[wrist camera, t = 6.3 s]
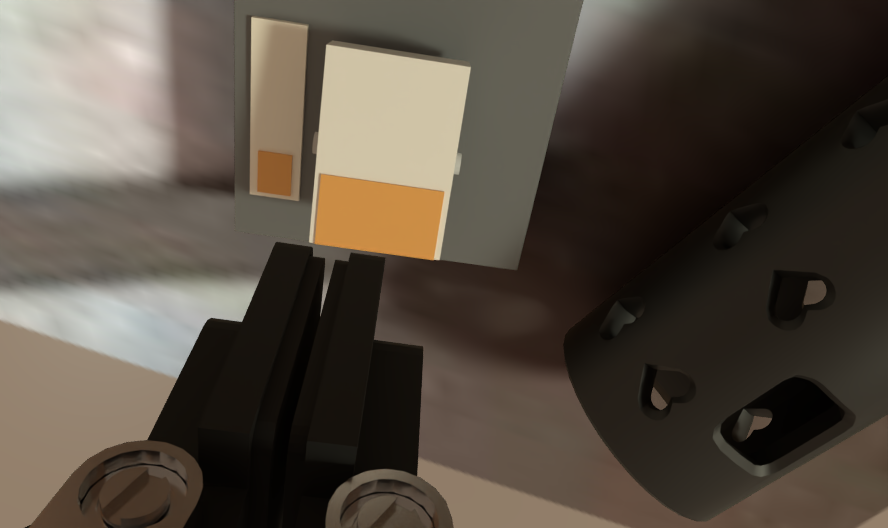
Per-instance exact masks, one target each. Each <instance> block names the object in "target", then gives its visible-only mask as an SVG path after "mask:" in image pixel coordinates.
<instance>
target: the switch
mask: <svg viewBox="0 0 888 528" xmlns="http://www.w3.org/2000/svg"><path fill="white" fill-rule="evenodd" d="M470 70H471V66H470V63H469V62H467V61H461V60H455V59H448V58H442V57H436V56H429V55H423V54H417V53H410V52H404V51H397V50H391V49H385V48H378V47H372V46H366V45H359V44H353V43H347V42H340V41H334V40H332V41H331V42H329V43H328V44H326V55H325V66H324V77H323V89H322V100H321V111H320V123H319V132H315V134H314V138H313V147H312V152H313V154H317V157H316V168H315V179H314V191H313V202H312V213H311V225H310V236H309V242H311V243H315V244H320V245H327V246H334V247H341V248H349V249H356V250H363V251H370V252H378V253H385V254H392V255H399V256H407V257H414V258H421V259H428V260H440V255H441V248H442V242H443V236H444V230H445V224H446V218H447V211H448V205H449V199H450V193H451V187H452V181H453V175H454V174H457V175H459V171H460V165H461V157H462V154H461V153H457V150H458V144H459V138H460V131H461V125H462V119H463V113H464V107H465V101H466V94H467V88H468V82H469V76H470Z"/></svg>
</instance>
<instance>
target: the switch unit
mask: <svg viewBox="0 0 888 528" xmlns="http://www.w3.org/2000/svg"><path fill="white" fill-rule="evenodd" d="M582 4H583V0H234V126H235V231H236V232H243V233H251V234H258V235H265V236H272V237H280V238H287V239H294V240H301V241H309V236H310V225H311V213H312V202H313V191H314V179H315V168H316V157H317V154H313V152H312V147H313V138H314V134H315V132H319V123H320V111H321V100H322V89H323V77H324V66H325V55H326V44H328V43H329V42H331V41H332V40H334V41H340V42H347V43H353V44H359V45H366V46H372V47H378V48H385V49H391V50H397V51H404V52H410V53H417V54H423V55H429V56H436V57H442V58H448V59H455V60H461V61H467V62H469V63H470V66H471V70H470V76H469V82H468V88H467V94H466V101H465V107H464V113H463V119H462V125H461V131H460V138H459V144H458V150H457V153H461V154H462V157H461V165H460V171H459V175H457V174H454V175H453V181H452V187H451V193H450V199H449V205H448V211H447V218H446V224H445V230H444V236H443V242H442V248H441V255H440V260H446V261H453V262H460V263H468V264H475V265H482V266H489V267H497V268H504V269H511V270H517V268H518V264H519V260H520V256H521V252H522V248H523V244H524V240H525V236H526V232H527V228H528V224H529V220H530V216H531V211H532V207H533V203H534V199H535V195H536V191H537V187H538V183H539V179H540V175H541V171H542V167H543V163H544V158H545V154H546V150H547V146H548V142H549V138H550V134H551V130H552V126H553V122H554V118H555V114H556V110H557V106H558V101H559V97H560V93H561V89H562V85H563V81H564V77H565V73H566V69H567V65H568V61H569V57H570V53H571V48H572V44H573V40H574V36H575V32H576V28H577V24H578V20H579V16H580V12H581V8H582Z"/></svg>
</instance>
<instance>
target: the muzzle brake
mask: <svg viewBox="0 0 888 528" xmlns="http://www.w3.org/2000/svg"><path fill="white" fill-rule="evenodd" d="M812 280H822V281H823V282H824V283H825V285H826V289H827V292H826V296H825V297H824V299H823V300H821V301H820V302H818V303H816V304H810V305H804V303H803V301H804V297H805V293H806V290H807V285H808V281H812ZM564 356H565V364H566V367H567V371H568V375H569V378H570V381H571V383H572V386H573V388H574V391H575V393H576V396H577V398H578V400H579V402H580V403H581V405H582V407H583V409H584V411H585V413H586V415H587V417H588V419H589V420H590V422H591V423H592V425H593V427H594V428H595V430H596V431H597V433H598V435H599V436H600V438H601V439H602V440H603V442H604V443H605V444H606V446H607V447H608V448H609V450H610V451H611V453H612V454H613V455H614V457H615V458H616V459H617V460H618V461H619V462H620V464H621V465H622V466H623V467H624V468H625V470H626V471H627V472H628V473H629V474H630V475H631V476H632V477H633V478H634V479H635V480H636V481H637V482H638V483H639V484H640V485H641V486H642V487H643V488H644V489H645V490H646V491H647V492H648V493H649V494H650V495H652V496H653V497H654V498H655V499H656V500H658V501H659V502H660V503H661V504H662V505H664V506H665V507H667V508H669V509H670V510H672V511H673V512H675V513H677V514H678V515H680V516H683V517H686V518H689V519H691V520H694V521H708V520H710V519H711V518H713V517H715V516H717V515H718V514H720V513H722V512H723V511H725V510H727V509H729V508H730V507H732V506H734V505H735V504H737V503H739V502H740V501H742V500H744V499H745V498H747V497H749V496H751V495H752V494H754V493H755V492H757V491H759V490H760V489H762V488H764V487H765V486H767V485H769V484H771V483H772V482H774V481H776V480H777V479H779V478H781V477H782V476H784V475H786V474H787V473H789V472H791V471H793V470H794V469H796V468H798V467H800V466H802V465H803V464H805V463H807V462H808V461H810V460H812V459H813V458H815V457H817V456H818V455H820V454H822V453H824V452H825V451H827V450H829V449H830V448H832V447H834V446H835V445H837V444H839V443H841V442H842V441H844V440H846V439H847V438H849V437H851V436H852V435H854V434H856V433H858V432H859V431H861V430H863V429H864V428H866V427H868V426H869V425H871V424H873V423H875V422H876V421H878V420H879V419H881V418H883V417H884V416H886V415H888V76H887V77H886V78H885V79H884V80H882V81H881V82H880V83H878V84H877V85H876V86H875V87H873V88H872V89H871V90H870V91H868V92H867V93H866V94H865V95H863V96H862V97H861V98H860V99H858V100H857V101H856V102H855V103H853V104H852V105H851V106H850V107H848V108H847V109H846V110H845V111H843V112H842V113H841V114H840V115H838V116H837V117H836V118H835V119H833V120H832V121H831V122H829V123H828V124H827V125H826V126H824V127H823V128H822V129H821V130H819V131H818V132H817V133H816V134H814V135H813V136H812V137H811V138H809V139H808V140H807V141H806V142H804V143H803V144H802V145H801V146H799V147H798V148H797V149H796V150H794V151H793V152H792V153H791V154H789V155H788V156H787V157H786V158H784V159H783V160H782V161H781V162H779V163H778V164H777V165H775V166H774V167H773V168H772V169H770V170H769V171H768V172H767V173H765V174H764V175H763V176H762V177H760V178H759V179H758V180H757V181H755V182H754V183H753V184H752V185H750V186H749V187H748V188H747V189H745V190H744V191H743V192H742V193H740V194H739V195H738V196H737V197H735V198H734V199H733V200H732V201H730V202H729V203H728V204H726V205H725V206H724V207H723V208H721V209H720V210H719V211H718V212H716V213H715V214H714V215H713V216H711V217H710V218H709V219H708V220H706V221H705V222H704V223H703V224H701V225H700V226H699V227H698V228H696V229H695V230H694V231H693V232H691V233H690V234H689V235H688V236H686V237H685V238H684V239H683V240H681V241H680V242H679V243H678V244H676V245H675V246H674V247H672V248H671V249H670V250H669V251H667V252H666V253H665V254H664V255H662V256H661V257H660V258H659V259H657V260H656V261H655V262H654V263H652V264H651V265H650V266H649V267H647V268H646V269H645V270H644V271H642V272H641V273H640V274H639V275H637V276H636V277H635V278H634V279H632V280H631V281H630V282H629V283H627V284H626V285H625V286H623V287H622V288H621V289H620V290H618V291H617V292H616V293H615V294H613V295H612V296H611V297H610V298H608V299H607V300H606V301H605V302H603V303H602V304H601V305H600V306H598V307H597V308H596V309H595V310H593V311H592V312H591V313H590V314H588V315H587V316H586V317H585V318H583V319H582V320H581V321H580V322H578V323H577V324H576V325H575V326H573V327H572V328H571V329H570V330H569V331H568V333H567V334H566V335H565V340H564ZM653 387H654V388H655V389H656V390H657V391H658V393H659V394H660V395H661V397H662V398H663V399H664V400H665V402H666V403H667V404H668V405H667V406H666V408H664V409H663V410H659V409H657V408H656V407H655V406H654V405H653V404H652V401H651V393H652V389H653ZM754 416H760V417H768V418H772V420H771V422H770V424H769V425H768V426H766V427H765V428H763V429H759V430H754V431H753V432H752V433H751V435H750V436H749V437H748V438H747V439H746V437H747V435H748V432H749V430H750V427H751V424H752V422H753V418H754Z"/></svg>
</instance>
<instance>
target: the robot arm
mask: <svg viewBox="0 0 888 528" xmlns="http://www.w3.org/2000/svg"><path fill="white" fill-rule="evenodd" d="M384 264H385V257H378V256H371V255H364V254H357V253H351V254H350V258H349V262H348V261H341V260H335V264H334V267H333V271H332V275H331V279H330V282H329V286H328V290H327V294H326V298H325V301H324V305H323V309H322V313H321V302H322V291H323V280H324V269H325V258H320V257H313V248H312V247H309V246H302V245H295V244H288V243H281V242H276V243H275V245H274V247H273V250H272V252H271V255H270V257H269V259H268V262H267V264H266V266H265V269H264V271H263V274H262V276H261V278H260V281H259V283H258V286H257V288H256V290H255V293H254V295H253V297H252V300H251V302H250V305H249V307H248V309H247V312H246V314H245V316H244V319H243V321H242V322H237V321H230V320H222V319H215V318H210V319H208V320H207V322H206V323H205V325H204V326H203V328H202V330H201V332H200V334H199V337H198V339H197V341H196V343H195V345H194V347H193V349H192V351H191V353H190V355H189V357H188V359H187V361H186V363H185V365H184V367H183V369H182V371H181V373H180V375H179V377H178V379H177V381H176V383H175V385H174V387H173V389H172V391H171V393H170V395H169V397H168V399H167V401H166V403H165V405H164V408H163V410H162V411H161V414H160V415H159V417H158V420H157V422H156V424H155V426H154V428H153V430H152V432H151V434H150V436H149V438H148V440H144V441H134V442H126V443H123V444H119V445H116V446H113V447H110V448H107V449H105V450H103V451H101V452H99V453H98V454H96V455H94V456H92V457H90V458H89V459H87V460H86V461H85V462H84V463H83V464H82V465H81V466H80V467H79V468H78V469H77V470H76V471H74V472H73V474H72V475H71V476H70V477H69V478H68V480H67V481H66V482H65V483H64V485H63V486H62V487H61V488H60V489H59V491H58V492H57V493H56V494H55V496H54V497H53V498H52V499H51V501H50V502H49V503H48V505H47V506H46V507H45V508H44V509H43V511H42V512H41V513H40V514H39V516H38V517H37V518H36V519H35V521H34V522H33V523H32V524H31V525H29V526H27V527H25V528H453V522H452V517H451V514H450V511H449V509H448V506H447V503H446V501H445V500H444V498H443V497H442V496H441V495H440V494H439V492H438V491H437V490H436V488H434V487H433V486H431V485H430V484H429V483H427V482H426V481H425V480H423V479H422V478H420V477H417V468H418V448H419V428H420V408H421V387H422V367H423V346H415V345H408V344H401V343H393V342H386V341H378V340H374V335H375V328H376V321H377V314H378V307H379V300H380V293H381V286H382V279H383V272H384ZM320 313H321V317H320Z"/></svg>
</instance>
